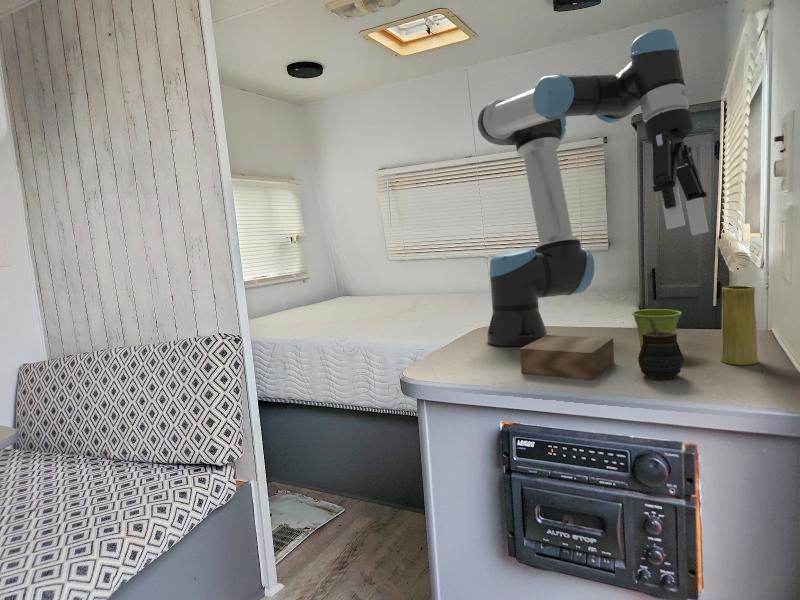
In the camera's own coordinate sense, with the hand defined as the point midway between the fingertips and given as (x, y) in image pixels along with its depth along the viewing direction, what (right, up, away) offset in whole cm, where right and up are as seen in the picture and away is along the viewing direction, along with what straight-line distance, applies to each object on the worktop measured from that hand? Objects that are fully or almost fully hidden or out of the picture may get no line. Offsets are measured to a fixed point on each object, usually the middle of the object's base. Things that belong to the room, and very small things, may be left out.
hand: (688, 230), depth 92 cm
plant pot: (+4, -24, +20) cm, 31 cm away
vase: (+14, -24, +7) cm, 29 cm away
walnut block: (-17, -26, +13) cm, 34 cm away
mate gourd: (-4, -26, +2) cm, 27 cm away
